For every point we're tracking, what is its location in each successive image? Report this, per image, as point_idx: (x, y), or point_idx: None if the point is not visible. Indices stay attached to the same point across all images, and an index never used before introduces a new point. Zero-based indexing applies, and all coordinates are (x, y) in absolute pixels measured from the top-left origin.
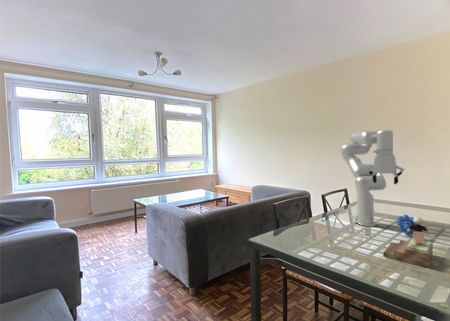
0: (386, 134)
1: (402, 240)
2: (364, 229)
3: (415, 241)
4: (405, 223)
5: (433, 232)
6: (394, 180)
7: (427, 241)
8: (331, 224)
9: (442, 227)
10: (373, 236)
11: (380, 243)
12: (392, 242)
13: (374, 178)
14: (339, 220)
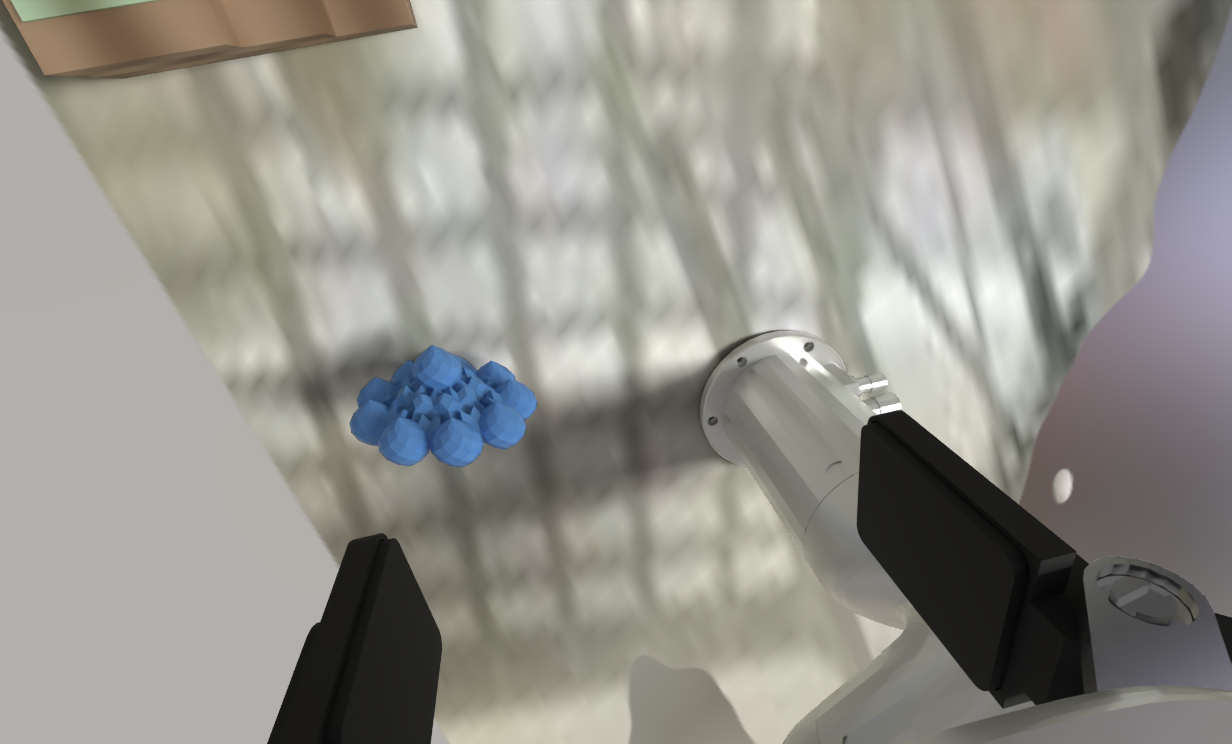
0: None
1: (311, 33)
2: (729, 266)
3: None
4: (453, 390)
5: None
6: (354, 625)
7: (81, 60)
8: (972, 177)
9: None
10: (614, 152)
11: (500, 13)
12: (398, 16)
13: (971, 492)
14: (945, 325)
